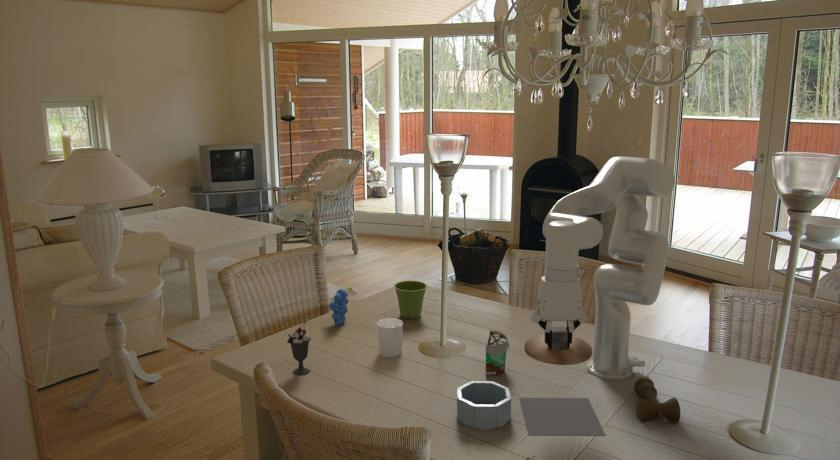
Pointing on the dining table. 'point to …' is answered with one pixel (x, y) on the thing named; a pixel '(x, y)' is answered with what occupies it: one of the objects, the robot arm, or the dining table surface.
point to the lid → (558, 348)
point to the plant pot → (410, 298)
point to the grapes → (339, 306)
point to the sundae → (300, 349)
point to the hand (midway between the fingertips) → (557, 345)
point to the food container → (496, 353)
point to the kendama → (654, 403)
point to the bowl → (483, 405)
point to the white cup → (390, 337)
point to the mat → (560, 417)
